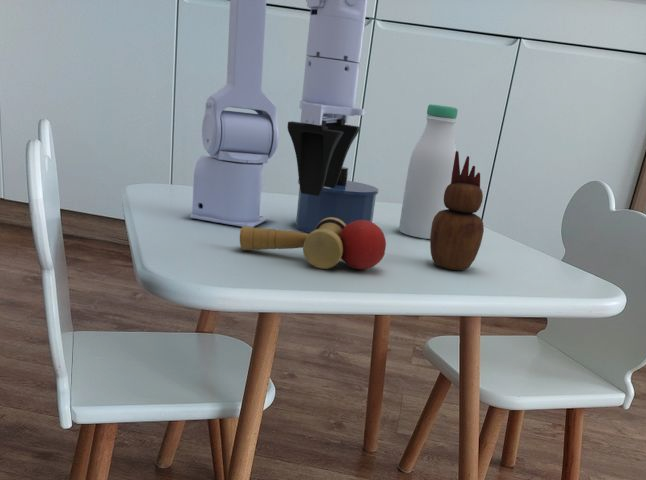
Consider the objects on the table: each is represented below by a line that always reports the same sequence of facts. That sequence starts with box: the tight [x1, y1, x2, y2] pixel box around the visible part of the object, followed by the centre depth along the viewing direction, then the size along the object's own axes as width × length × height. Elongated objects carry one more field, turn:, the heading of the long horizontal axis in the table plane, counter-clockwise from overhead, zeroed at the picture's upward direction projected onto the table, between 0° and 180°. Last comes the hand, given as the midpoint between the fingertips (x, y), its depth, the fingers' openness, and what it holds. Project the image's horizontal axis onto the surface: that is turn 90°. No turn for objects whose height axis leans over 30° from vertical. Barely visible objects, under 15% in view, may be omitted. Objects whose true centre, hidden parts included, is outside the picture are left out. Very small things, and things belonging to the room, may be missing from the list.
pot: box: [295, 187, 377, 234], centre depth 104 cm, size 11×11×6 cm
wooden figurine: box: [429, 150, 485, 271], centre depth 90 cm, size 7×6×15 cm
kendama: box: [239, 217, 387, 270], centre depth 84 cm, size 8×6×18 cm
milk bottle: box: [398, 103, 458, 240], centre depth 108 cm, size 8×8×20 cm
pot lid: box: [297, 166, 379, 196], centre depth 103 cm, size 12×12×4 cm
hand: (318, 190), depth 77 cm, fingers open, 7 cm apart
